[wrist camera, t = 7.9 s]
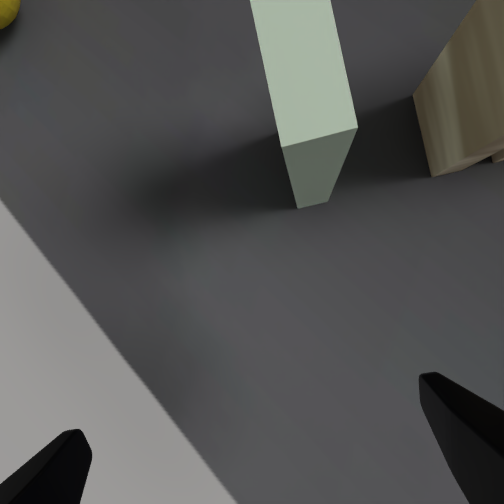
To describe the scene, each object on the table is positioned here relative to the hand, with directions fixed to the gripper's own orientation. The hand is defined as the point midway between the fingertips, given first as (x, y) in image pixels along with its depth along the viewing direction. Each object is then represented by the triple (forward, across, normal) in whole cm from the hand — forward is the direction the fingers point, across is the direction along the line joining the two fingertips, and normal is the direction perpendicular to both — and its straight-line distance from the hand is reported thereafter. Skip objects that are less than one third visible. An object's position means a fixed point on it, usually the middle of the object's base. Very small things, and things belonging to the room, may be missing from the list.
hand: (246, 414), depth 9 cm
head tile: (+14, -4, -4) cm, 15 cm away
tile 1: (+13, -12, -5) cm, 18 cm away
